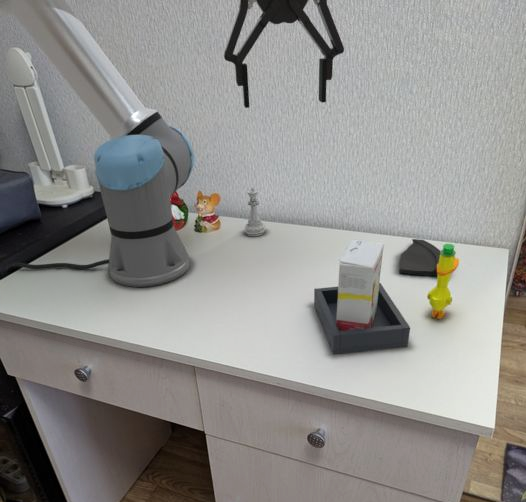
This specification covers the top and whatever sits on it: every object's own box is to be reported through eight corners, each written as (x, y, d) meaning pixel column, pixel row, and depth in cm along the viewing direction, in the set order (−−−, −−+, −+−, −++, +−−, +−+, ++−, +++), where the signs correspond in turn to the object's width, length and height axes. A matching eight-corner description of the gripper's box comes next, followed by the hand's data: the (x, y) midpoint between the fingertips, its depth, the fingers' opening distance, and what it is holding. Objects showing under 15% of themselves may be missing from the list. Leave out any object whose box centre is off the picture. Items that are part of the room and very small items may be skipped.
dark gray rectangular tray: (333, 354, 71) (333, 335, 69) (313, 306, 82) (314, 288, 80) (407, 346, 71) (410, 327, 69) (378, 299, 83) (380, 282, 81)
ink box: (367, 341, 72) (374, 266, 65) (334, 335, 73) (337, 262, 66) (378, 311, 78) (385, 241, 71) (347, 307, 80) (351, 238, 73)
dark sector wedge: (445, 248, 98) (446, 240, 97) (445, 278, 88) (446, 270, 87) (402, 244, 100) (403, 237, 99) (397, 274, 90) (398, 266, 89)
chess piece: (248, 228, 112) (245, 183, 106) (267, 229, 110) (265, 184, 105) (242, 235, 108) (239, 190, 102) (261, 237, 107) (259, 191, 101)
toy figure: (435, 302, 81) (448, 233, 74) (457, 308, 79) (472, 238, 72) (419, 320, 77) (430, 249, 70) (441, 327, 75) (455, 254, 68)
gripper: (200, -48, 72) (215, 112, 84) (368, -56, 73) (358, 102, 85) (200, -43, 78) (214, 105, 90) (355, -51, 79) (348, 95, 92)
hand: (284, 104), depth 88 cm, fingers open, 13 cm apart
